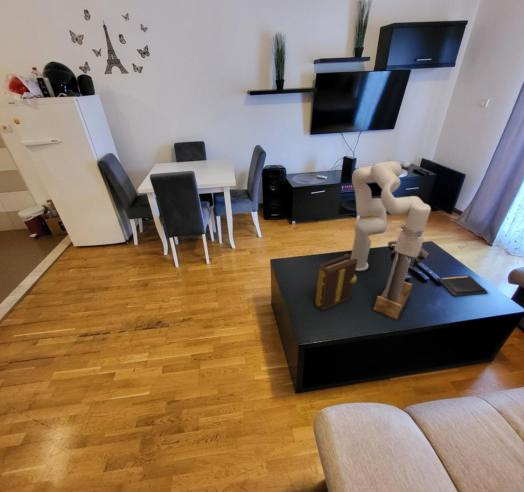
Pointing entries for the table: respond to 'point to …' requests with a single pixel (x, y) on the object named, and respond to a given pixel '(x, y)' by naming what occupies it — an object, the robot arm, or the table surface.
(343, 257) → the book
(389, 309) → the stand
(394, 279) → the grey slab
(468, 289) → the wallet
